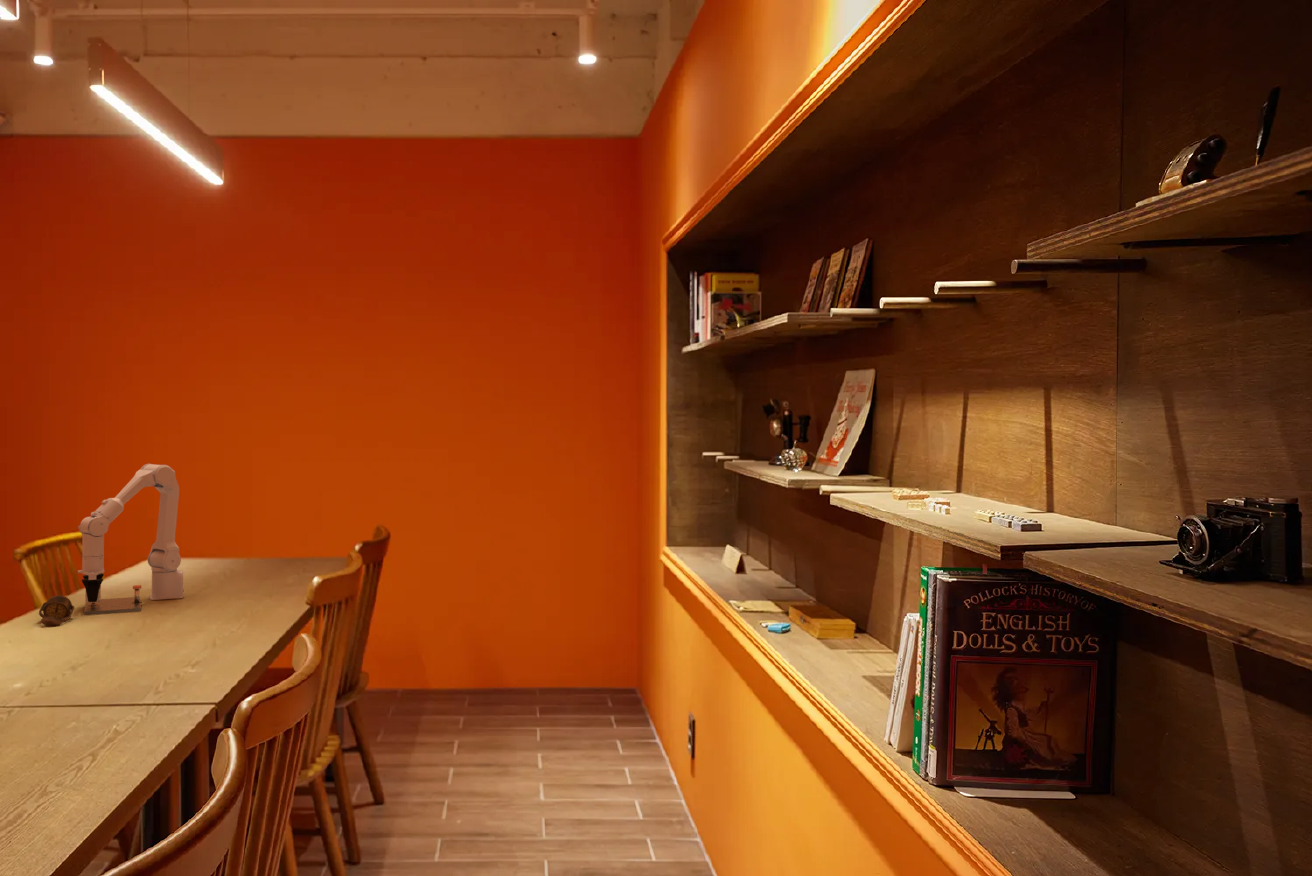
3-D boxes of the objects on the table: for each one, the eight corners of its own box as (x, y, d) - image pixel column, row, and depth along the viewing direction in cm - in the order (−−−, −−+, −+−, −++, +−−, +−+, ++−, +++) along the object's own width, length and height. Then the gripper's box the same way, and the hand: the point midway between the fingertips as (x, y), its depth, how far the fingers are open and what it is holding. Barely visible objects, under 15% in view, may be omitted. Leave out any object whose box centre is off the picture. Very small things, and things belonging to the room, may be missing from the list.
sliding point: (100, 602, 301) (100, 583, 301) (100, 604, 298) (100, 585, 297) (85, 603, 299) (85, 584, 299) (85, 605, 296) (85, 586, 296)
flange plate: (141, 599, 314) (141, 580, 313) (142, 611, 296) (142, 591, 296) (86, 603, 306) (86, 583, 306) (84, 615, 289) (84, 594, 289)
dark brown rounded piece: (87, 599, 285) (54, 591, 285) (62, 604, 273) (27, 595, 273) (81, 623, 285) (47, 615, 285) (55, 629, 272) (20, 620, 272)
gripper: (78, 553, 302) (78, 596, 303) (77, 559, 290) (76, 604, 290) (104, 552, 306) (104, 595, 306) (104, 558, 293) (103, 603, 293)
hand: (92, 599), depth 298 cm, fingers open, 7 cm apart
